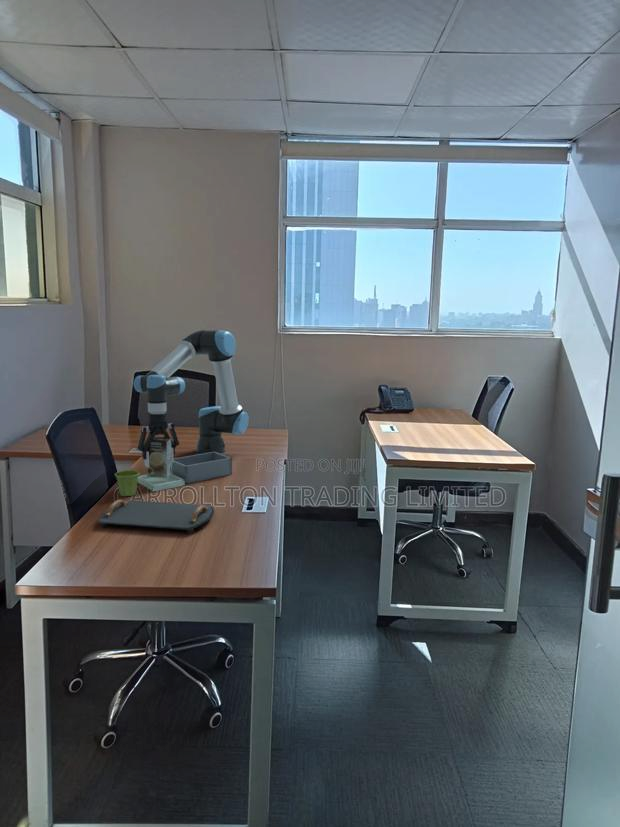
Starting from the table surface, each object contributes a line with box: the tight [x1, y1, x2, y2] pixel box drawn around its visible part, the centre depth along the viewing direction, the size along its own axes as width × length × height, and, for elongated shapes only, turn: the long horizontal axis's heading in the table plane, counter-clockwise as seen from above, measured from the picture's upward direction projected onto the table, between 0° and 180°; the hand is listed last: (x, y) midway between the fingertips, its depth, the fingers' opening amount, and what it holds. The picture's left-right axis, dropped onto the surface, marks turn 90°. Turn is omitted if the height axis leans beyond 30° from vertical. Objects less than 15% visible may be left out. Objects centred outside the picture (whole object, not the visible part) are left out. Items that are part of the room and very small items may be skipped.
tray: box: [137, 474, 186, 493], centre depth 240 cm, size 14×17×2 cm
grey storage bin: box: [172, 452, 233, 484], centre depth 253 cm, size 23×15×8 cm, turn 130°
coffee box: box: [145, 436, 172, 478], centre depth 238 cm, size 9×6×16 cm
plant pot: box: [114, 469, 141, 497], centre depth 226 cm, size 9×9×9 cm
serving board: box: [97, 499, 215, 535], centre depth 199 cm, size 39×23×6 cm, turn 80°
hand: (159, 464), depth 239 cm, fingers closed on coffee box, 10 cm apart
